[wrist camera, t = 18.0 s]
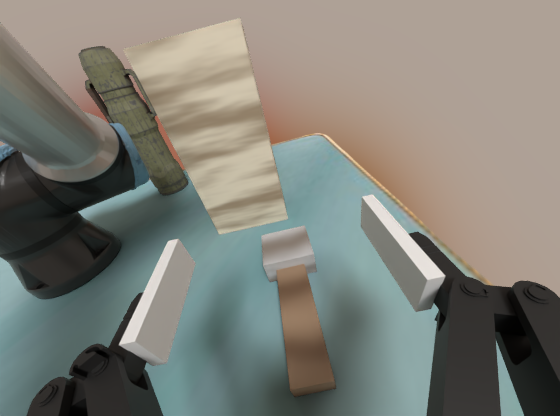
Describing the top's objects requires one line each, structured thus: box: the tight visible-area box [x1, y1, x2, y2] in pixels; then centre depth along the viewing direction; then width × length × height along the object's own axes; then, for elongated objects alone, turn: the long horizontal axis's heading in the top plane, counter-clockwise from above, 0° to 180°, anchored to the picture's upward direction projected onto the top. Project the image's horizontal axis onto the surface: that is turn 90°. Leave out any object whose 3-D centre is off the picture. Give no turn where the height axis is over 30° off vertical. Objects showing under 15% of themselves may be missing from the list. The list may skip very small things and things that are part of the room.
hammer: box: [262, 226, 336, 397], centre depth 26 cm, size 19×7×4 cm, turn 7°
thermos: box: [79, 46, 188, 195], centre depth 55 cm, size 9×12×35 cm
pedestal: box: [123, 18, 288, 235], centre depth 37 cm, size 10×14×30 cm
